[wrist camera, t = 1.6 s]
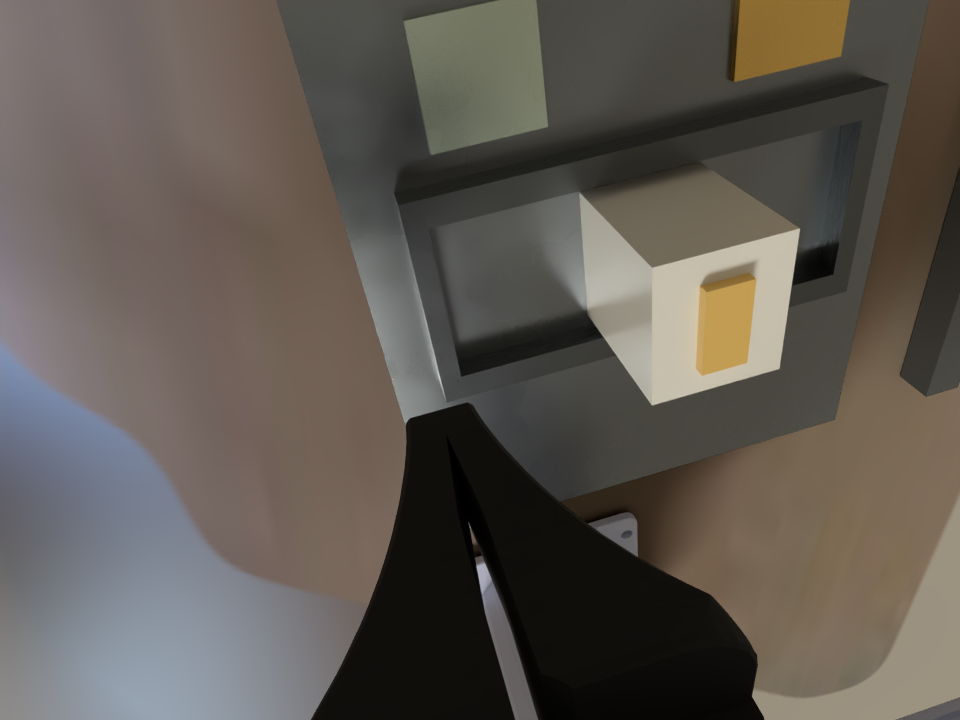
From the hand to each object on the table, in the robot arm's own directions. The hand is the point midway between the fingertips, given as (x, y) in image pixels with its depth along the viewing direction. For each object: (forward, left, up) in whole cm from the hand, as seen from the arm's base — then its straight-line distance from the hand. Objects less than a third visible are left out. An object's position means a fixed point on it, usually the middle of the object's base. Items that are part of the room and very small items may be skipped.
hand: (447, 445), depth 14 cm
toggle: (0, -7, -6) cm, 9 cm away
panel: (0, -7, -7) cm, 10 cm away
